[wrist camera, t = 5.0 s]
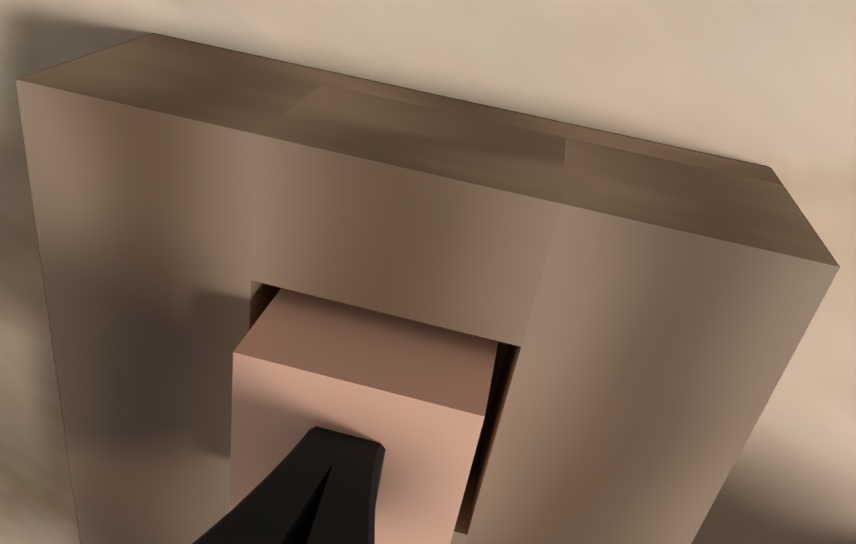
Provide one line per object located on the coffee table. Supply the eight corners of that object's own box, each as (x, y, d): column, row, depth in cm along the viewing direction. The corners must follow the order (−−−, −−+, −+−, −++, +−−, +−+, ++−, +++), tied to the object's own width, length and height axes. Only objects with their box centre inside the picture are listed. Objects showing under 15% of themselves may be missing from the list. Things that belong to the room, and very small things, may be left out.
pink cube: (504, 307, 14) (484, 417, 11) (464, 458, 17) (439, 583, 14) (303, 258, 15) (232, 352, 12) (290, 412, 17) (228, 524, 14)
